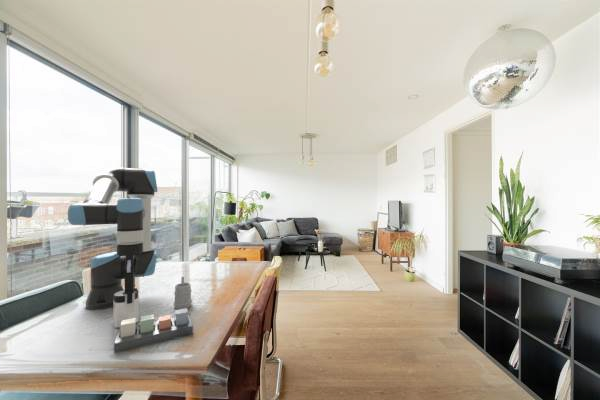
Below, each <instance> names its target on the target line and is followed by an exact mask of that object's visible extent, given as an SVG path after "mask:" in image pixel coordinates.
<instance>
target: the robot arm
mask: <svg viewBox="0 0 600 400" xmlns="http://www.w3.org/2000/svg"><path fill="white" fill-rule="evenodd" d="M116 192H125V193H127V197H121V198H118V199H117V202H116V203H110V202H111V199H112V198H113V195H114V194H115V193H116ZM157 192H158V184H157V179H156V172H155V171H154V170H153V169H148V168H133V167H132V168H131V167H113V168H109V169H107V170H105V171H104V170H103V171H102V172H100V173H98V174H97V175H96V176H95V177H94V179H93V181H92V187H91V189H90V190H89V192H88V193H87V195H86V197H85V199H84V200H83V202H82V203H80V202H79V203H78V202H77V203H72V204H70V205H69V206H68V209H67V220H68V223H69V224H70V225H72V226H94V225H95V226H97V225H99V226H100V225H101V226H102V225H116V228H117V229H116V233H115V234H114V237H116V242H117V245H116V251H113V252H107V253H102V254H98V255H96V256H94V257H93V258H92V259H91V261H90V290H89V293H88V296H87V297H86V301H85V309H87V310H100V309H107V308H112V307H113V300H114V294H115V293H116V292H119V291H122V290H125V291H124V292H123V295H124V294H125V313H129V312H134V311H135V291H136V290H138V287H136V278H144V277H149V276H153V275H154V274H155V271H156V264H157V258H158V252H157V251H155V248H154V247H153V245H151V244H152V198H153V197H155V193H157ZM122 281H124V287H123V285H122Z"/></svg>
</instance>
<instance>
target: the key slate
mask: <svg viewBox="0 0 600 400" xmlns="http://www.w3.org/2000/svg"><path fill="white" fill-rule="evenodd" d="M174 312H175V313H174V315H175V316H174V317H175V324H176V326H178V325H182V324H187V323H188V315H189V311H188V308H185V309H175V310H174Z"/></svg>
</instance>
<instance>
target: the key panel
mask: <svg viewBox="0 0 600 400" xmlns="http://www.w3.org/2000/svg"><path fill="white" fill-rule="evenodd" d="M193 328H194V327H193V322H192V319H191V316H190V314H188V323H187V324H182V325H178V326H176V324H175V316H174V317H171V327H169V328H164V329H159V320H154V331H150V332H145V333H141V334H140V323H139V324H136V333H135V335H132V336H127V337H122V338H121V327H119V328H118V330H117V334H116V337H115V341H114V343H113V344H114V346H113V347H114V351H113V352H114V354H115V353H120V352H123V351H124V352H125V351H129V350H132V349H136V348H141V347H145V346H149V345H150V346H151V345H154V344H159V343H162V342H167V341H171V340H174V339H178V338H179V339H180V338H183V337H187V336H191V335H193V333H194V332H193V330H194V329H193Z"/></svg>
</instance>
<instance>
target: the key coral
mask: <svg viewBox="0 0 600 400" xmlns="http://www.w3.org/2000/svg"><path fill="white" fill-rule="evenodd" d="M171 318H172V314H166V315H161V316H158V321H159V329H164V328H169V327H171Z"/></svg>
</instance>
